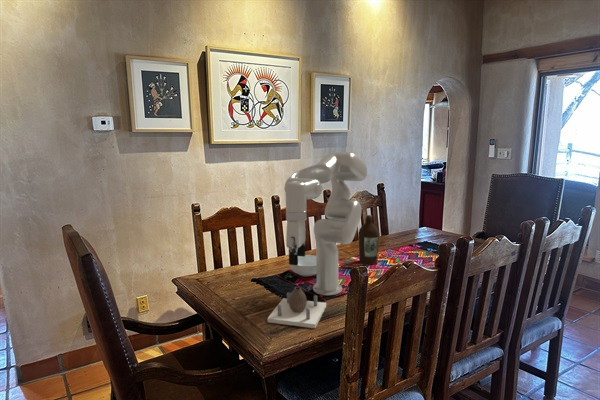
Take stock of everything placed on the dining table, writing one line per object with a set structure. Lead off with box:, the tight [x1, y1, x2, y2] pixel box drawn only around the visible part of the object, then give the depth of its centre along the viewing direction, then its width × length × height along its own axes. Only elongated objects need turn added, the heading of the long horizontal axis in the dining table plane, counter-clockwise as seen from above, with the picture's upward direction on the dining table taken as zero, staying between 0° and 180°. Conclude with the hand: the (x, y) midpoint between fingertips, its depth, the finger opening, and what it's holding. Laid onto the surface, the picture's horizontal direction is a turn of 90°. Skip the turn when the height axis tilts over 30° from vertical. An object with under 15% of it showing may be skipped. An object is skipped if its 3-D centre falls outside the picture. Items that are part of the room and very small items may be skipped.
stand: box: [267, 291, 327, 329], centre depth 150 cm, size 18×18×6 cm
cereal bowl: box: [289, 254, 317, 277], centre depth 191 cm, size 17×17×7 cm
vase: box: [289, 286, 308, 312], centre depth 149 cm, size 7×7×9 cm
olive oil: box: [358, 214, 380, 266], centre depth 205 cm, size 11×11×25 cm
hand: (297, 260), depth 147 cm, fingers open, 9 cm apart
